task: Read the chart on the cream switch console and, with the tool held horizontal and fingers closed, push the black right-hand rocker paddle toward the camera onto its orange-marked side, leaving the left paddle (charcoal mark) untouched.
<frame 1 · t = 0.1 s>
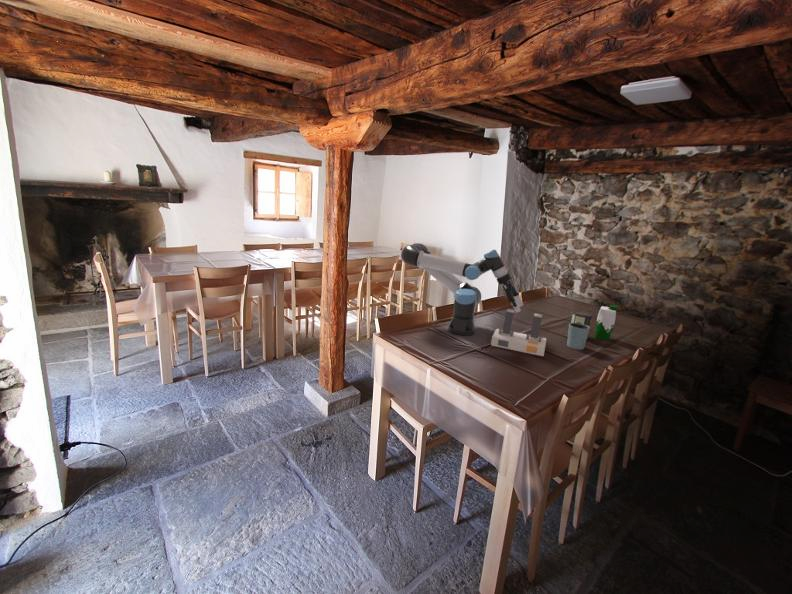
hand: (520, 308, 216), 15 cm above the table, tool tilted 35°, fingers open, 13 cm apart
drinking glass: (574, 346, 208), on the table
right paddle: (536, 325, 200), point 12 cm above the table, hinge at 30.0°
milk carton: (601, 338, 225), on the table
console: (518, 346, 202), on the table
coffee can: (577, 336, 225), on the table
left paddle: (508, 320, 205), point 12 cm above the table, hinge at 30.0°
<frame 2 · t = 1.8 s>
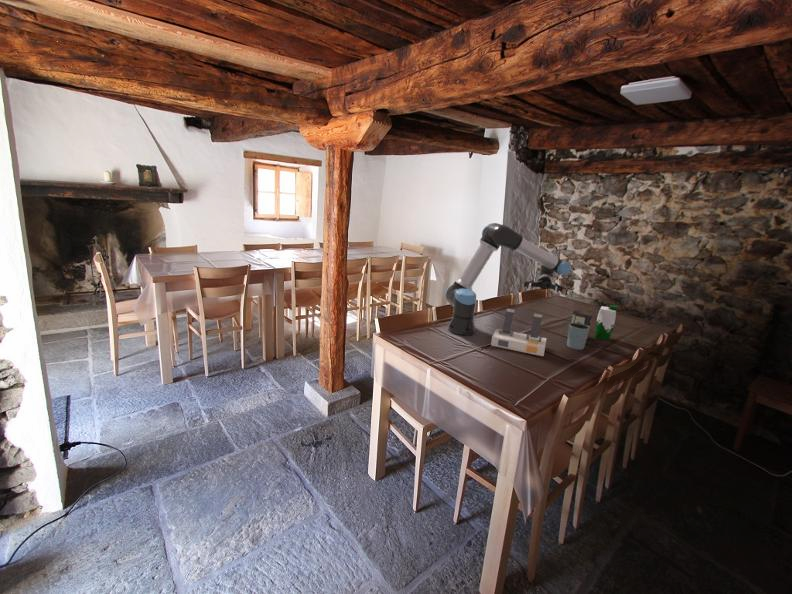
hand: (542, 289, 206), 29 cm above the table, tool horizontal, fingers open, 13 cm apart
left paddle: (508, 320, 204), point 12 cm above the table, hinge at 26.7°
everything else where it was.
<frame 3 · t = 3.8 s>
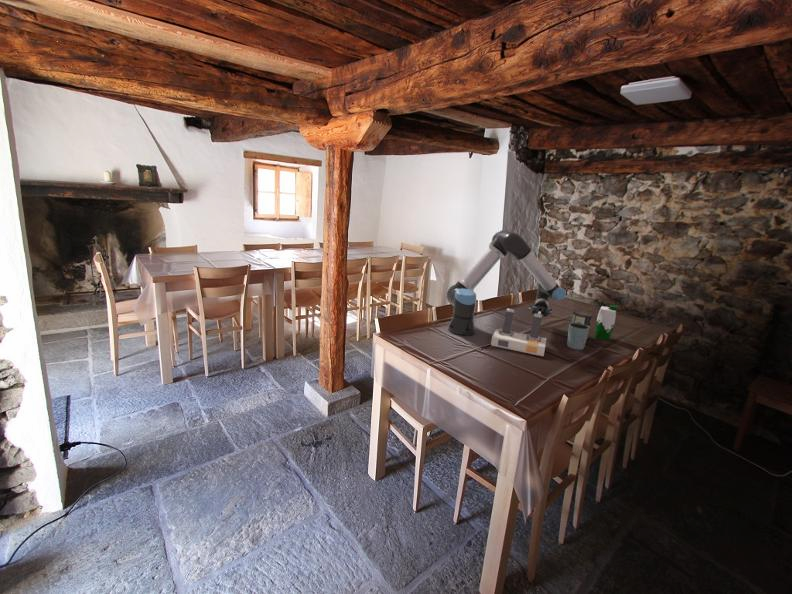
hand: (538, 317, 206), 14 cm above the table, tool horizontal, fingers closed
nothing on the table moved.
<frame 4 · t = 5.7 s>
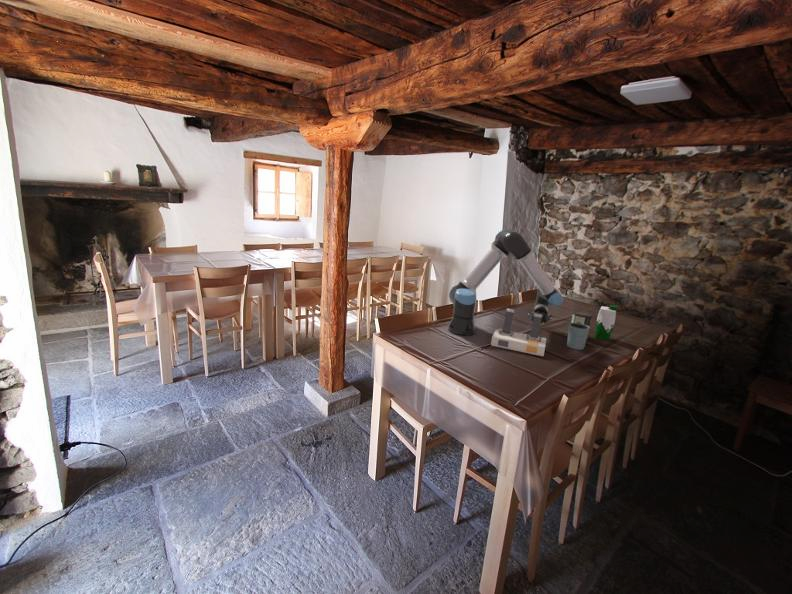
hand: (538, 323, 201), 12 cm above the table, tool horizontal, fingers closed
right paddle: (536, 325, 199), point 12 cm above the table, hinge at 27.1°, touching gripper
everything else where it was.
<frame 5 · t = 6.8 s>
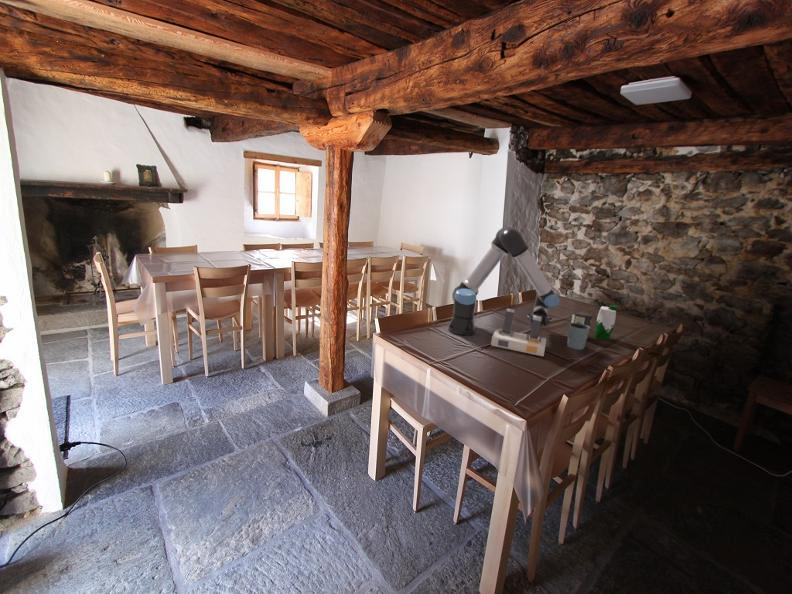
hand: (538, 326, 196), 13 cm above the table, tool horizontal, fingers closed
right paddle: (535, 327, 195), point 13 cm above the table, hinge at -12.2°, touching gripper
everything else where it was.
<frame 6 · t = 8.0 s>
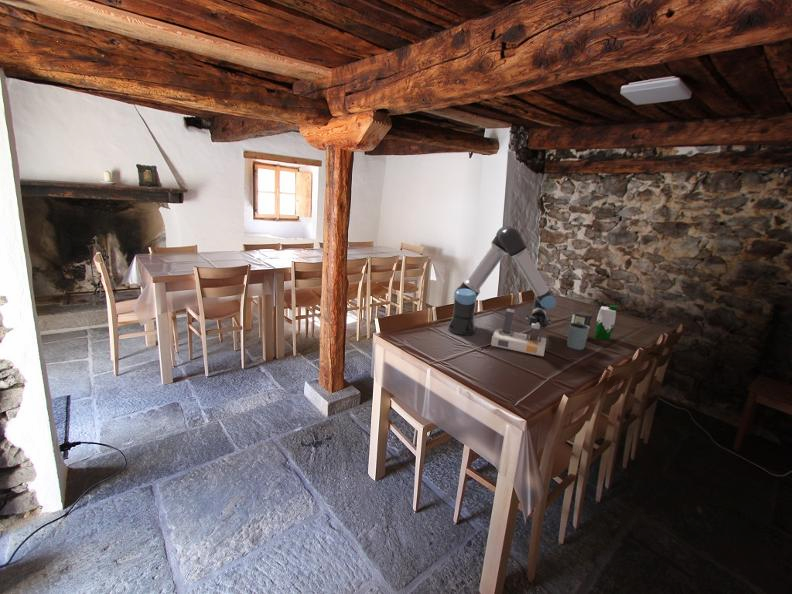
hand: (537, 328, 193), 12 cm above the table, tool horizontal, fingers closed
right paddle: (534, 331, 192), point 11 cm above the table, hinge at -39.1°, touching gripper
everything else where it was.
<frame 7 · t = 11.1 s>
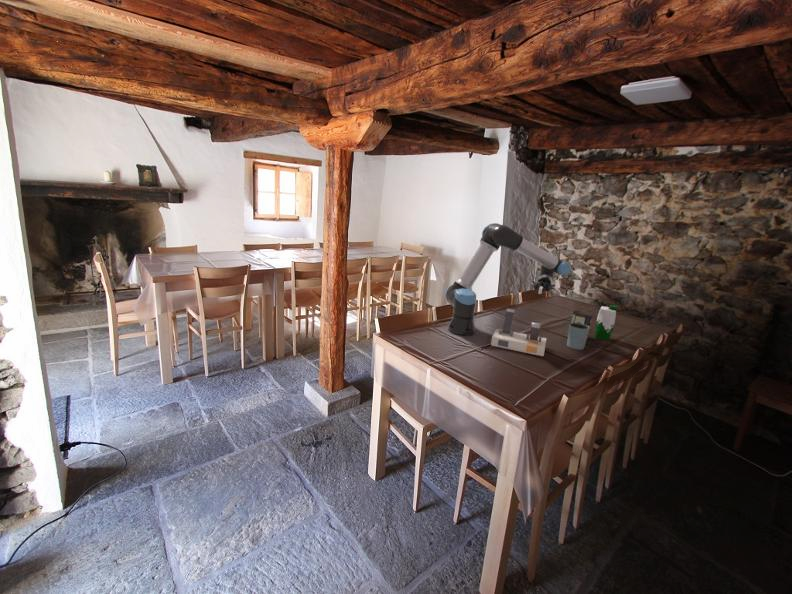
hand: (539, 291, 205), 28 cm above the table, tool horizontal, fingers closed
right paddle: (534, 331, 192), point 11 cm above the table, hinge at -36.8°
everything else where it was.
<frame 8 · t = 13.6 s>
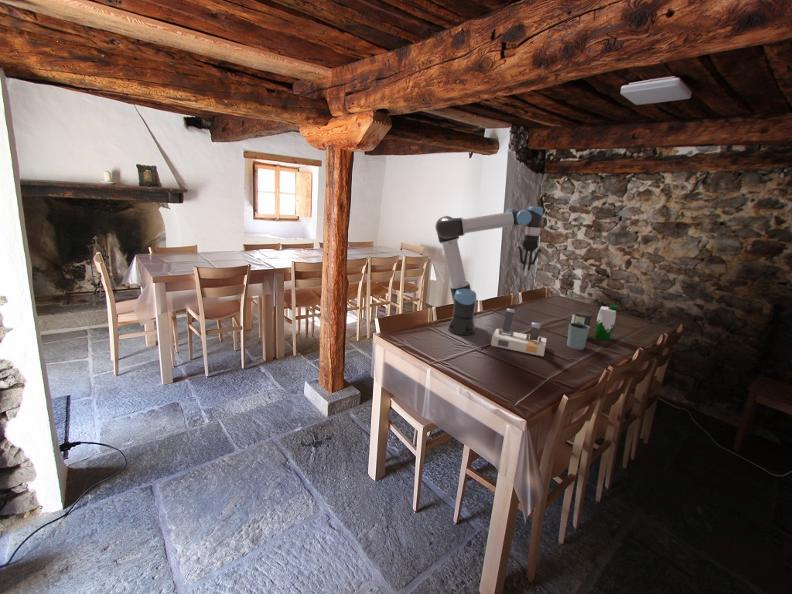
hand: (525, 275, 222), 32 cm above the table, tool pointing down, fingers closed
nothing on the table moved.
at the end: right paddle at -37° (first picture: +30°); left paddle at +27° (first picture: +30°) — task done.
